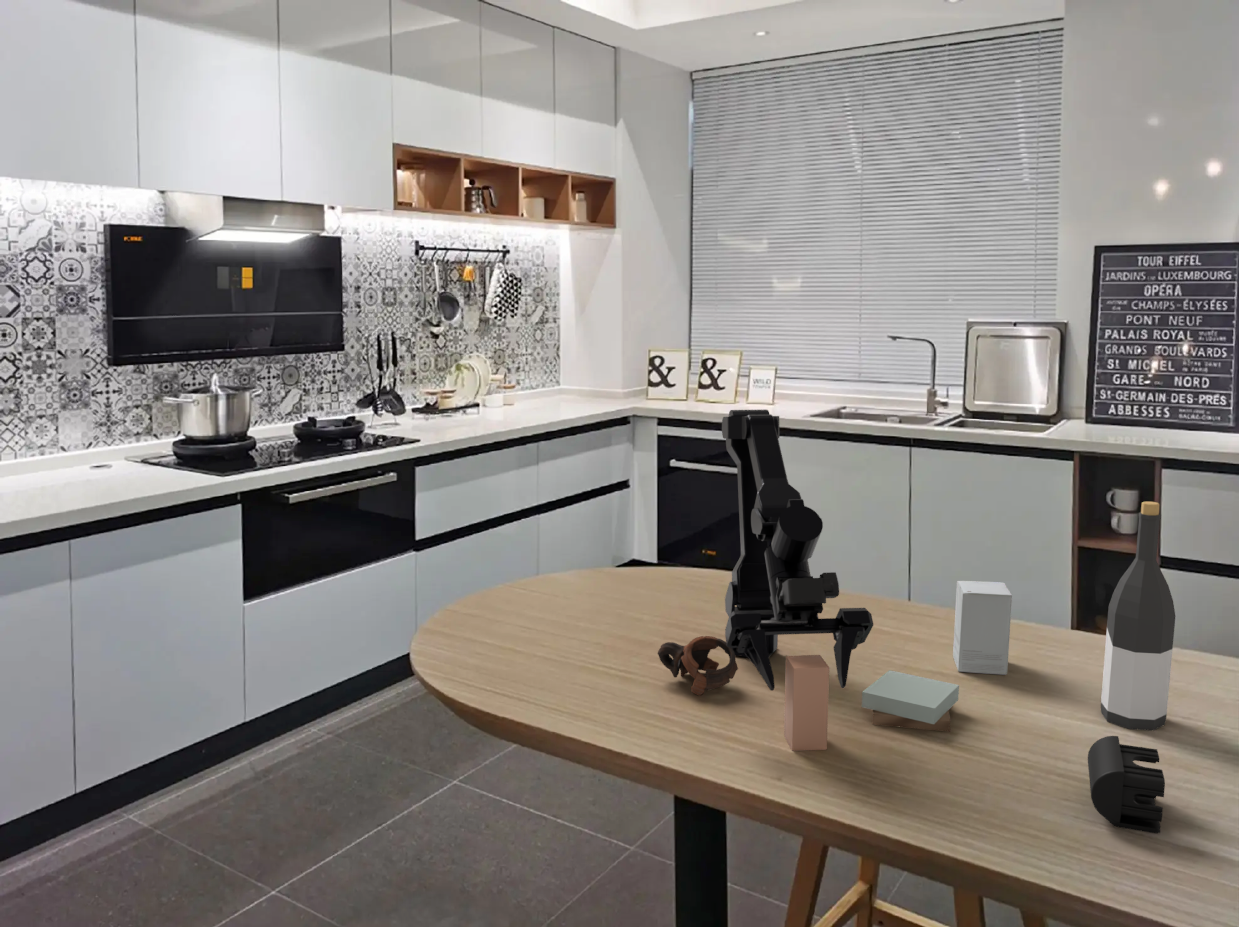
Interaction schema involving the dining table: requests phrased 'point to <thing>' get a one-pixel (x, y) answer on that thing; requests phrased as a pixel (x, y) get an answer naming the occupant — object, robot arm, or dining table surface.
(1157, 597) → the wine bottle
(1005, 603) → the supplement box
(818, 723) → the terracotta block
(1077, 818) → the dining table surface
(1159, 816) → the end cap
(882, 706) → the slab upper
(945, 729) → the slab lower
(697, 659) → the brown curved piece
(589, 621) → the dining table surface
